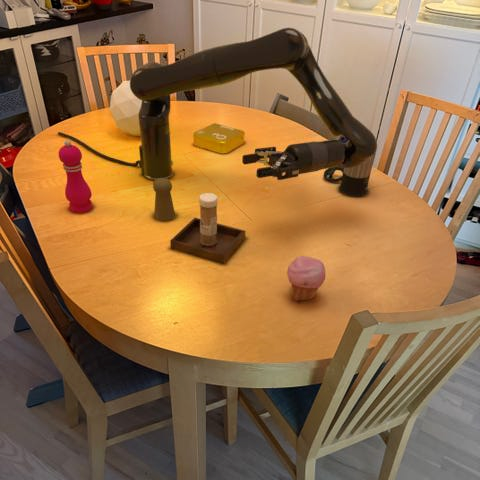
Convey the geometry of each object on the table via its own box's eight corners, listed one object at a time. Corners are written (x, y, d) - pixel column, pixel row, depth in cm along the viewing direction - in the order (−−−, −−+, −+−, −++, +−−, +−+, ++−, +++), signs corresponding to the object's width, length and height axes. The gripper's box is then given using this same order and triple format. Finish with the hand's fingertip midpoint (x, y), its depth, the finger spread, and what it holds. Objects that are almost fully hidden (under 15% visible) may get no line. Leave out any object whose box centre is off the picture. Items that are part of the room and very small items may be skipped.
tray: (170, 248, 123) (170, 240, 122) (195, 225, 133) (194, 217, 131) (223, 264, 119) (224, 255, 117) (245, 238, 128) (245, 230, 127)
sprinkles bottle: (196, 242, 126) (195, 196, 117) (208, 236, 128) (207, 190, 119) (209, 249, 123) (208, 202, 114) (220, 242, 126) (221, 196, 117)
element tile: (246, 142, 180) (246, 129, 177) (224, 155, 170) (224, 141, 167) (214, 133, 186) (214, 121, 183) (191, 145, 176) (191, 132, 173)
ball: (131, 147, 190) (120, 96, 188) (175, 133, 184) (165, 80, 181) (105, 137, 172) (93, 81, 170) (153, 122, 166) (141, 63, 164)
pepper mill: (98, 204, 140) (86, 137, 126) (85, 215, 134) (70, 147, 121) (77, 200, 141) (63, 133, 128) (63, 211, 136) (47, 142, 123)
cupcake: (283, 283, 114) (288, 248, 107) (319, 285, 114) (325, 250, 107) (285, 306, 107) (290, 271, 101) (323, 308, 107) (330, 273, 101)
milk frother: (364, 199, 148) (375, 153, 138) (316, 190, 152) (323, 144, 142) (371, 181, 158) (381, 137, 148) (325, 173, 162) (332, 129, 152)
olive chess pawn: (171, 222, 133) (169, 186, 126) (151, 219, 134) (147, 183, 127) (177, 212, 138) (175, 176, 131) (158, 209, 139) (155, 174, 131)
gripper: (294, 133, 124) (238, 141, 119) (322, 154, 114) (263, 163, 109) (291, 161, 129) (237, 169, 124) (318, 182, 119) (261, 193, 114)
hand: (249, 166), depth 116 cm, fingers open, 8 cm apart
